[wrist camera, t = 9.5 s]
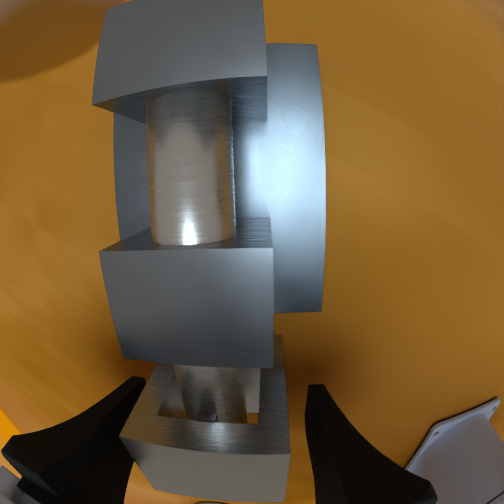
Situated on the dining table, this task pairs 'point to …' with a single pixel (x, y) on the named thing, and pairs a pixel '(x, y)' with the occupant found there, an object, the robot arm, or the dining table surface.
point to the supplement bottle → (209, 503)
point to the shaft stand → (210, 190)
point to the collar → (213, 439)
